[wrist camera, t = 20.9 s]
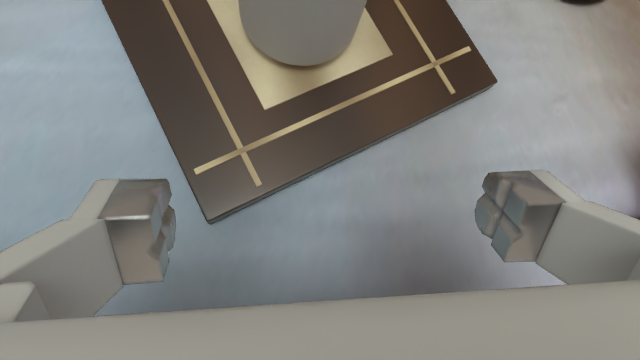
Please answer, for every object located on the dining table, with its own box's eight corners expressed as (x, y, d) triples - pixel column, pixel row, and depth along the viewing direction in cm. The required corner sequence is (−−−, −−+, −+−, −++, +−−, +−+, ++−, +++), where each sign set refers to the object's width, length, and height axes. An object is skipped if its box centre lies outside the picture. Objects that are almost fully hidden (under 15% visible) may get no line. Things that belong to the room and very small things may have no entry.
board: (210, 224, 20) (206, 222, 19) (89, -28, 22) (80, -43, 21) (489, 89, 24) (499, 80, 23) (361, -113, 26) (365, -129, 25)
